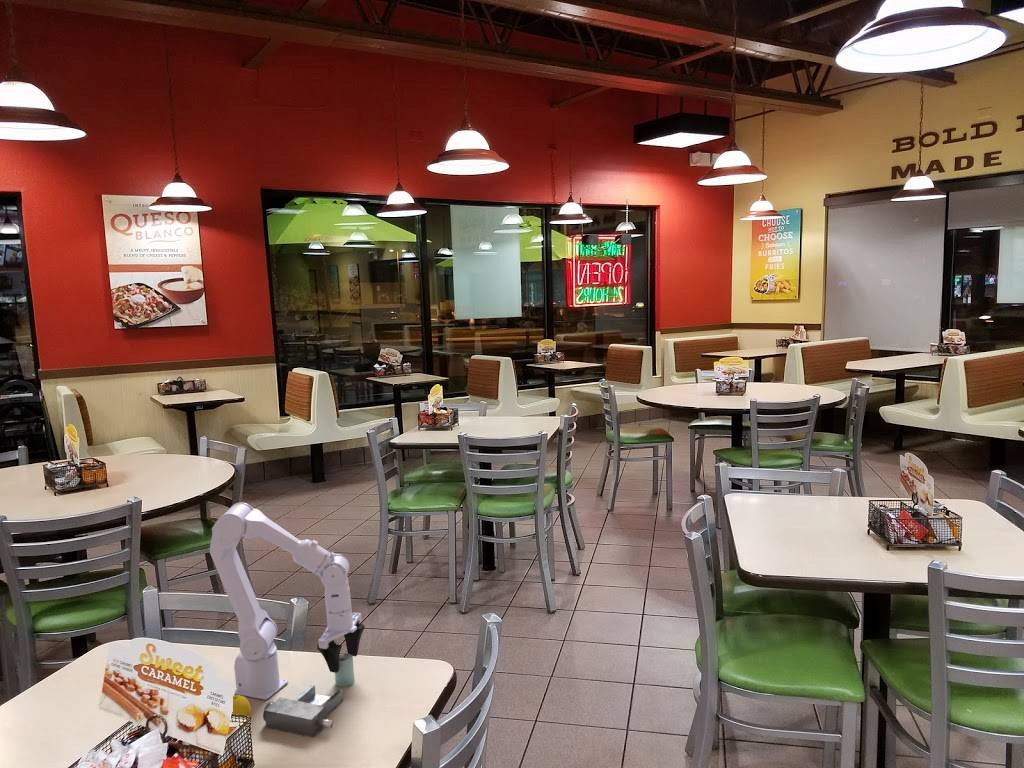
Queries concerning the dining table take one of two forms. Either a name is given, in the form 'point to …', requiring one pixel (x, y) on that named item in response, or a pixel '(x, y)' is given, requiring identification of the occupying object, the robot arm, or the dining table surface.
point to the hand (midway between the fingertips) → (343, 663)
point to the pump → (345, 671)
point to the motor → (302, 712)
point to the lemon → (241, 706)
